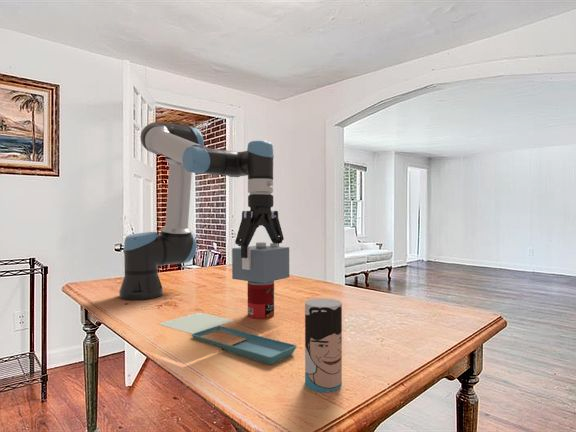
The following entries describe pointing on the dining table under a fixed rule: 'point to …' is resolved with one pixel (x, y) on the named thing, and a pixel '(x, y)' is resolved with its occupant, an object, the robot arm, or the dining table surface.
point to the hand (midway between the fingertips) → (261, 266)
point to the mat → (195, 322)
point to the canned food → (260, 300)
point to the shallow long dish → (251, 345)
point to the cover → (262, 263)
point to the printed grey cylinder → (323, 344)
